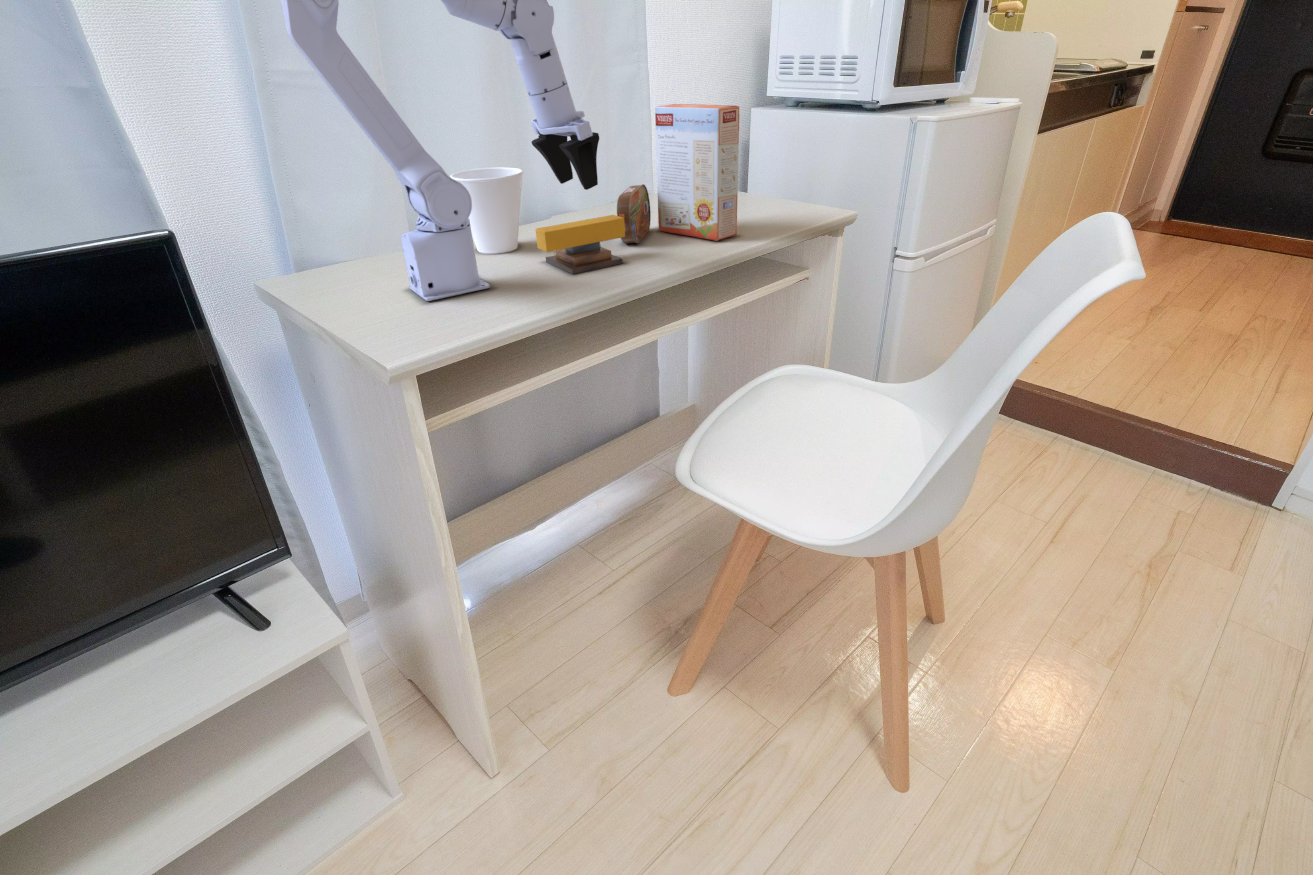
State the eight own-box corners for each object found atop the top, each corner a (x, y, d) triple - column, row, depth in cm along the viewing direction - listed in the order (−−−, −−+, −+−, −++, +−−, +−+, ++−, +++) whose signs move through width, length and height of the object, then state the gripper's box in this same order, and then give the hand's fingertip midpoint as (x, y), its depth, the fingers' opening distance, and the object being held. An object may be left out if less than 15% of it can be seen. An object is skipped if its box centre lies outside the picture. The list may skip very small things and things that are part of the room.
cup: (483, 238, 127) (472, 166, 121) (543, 241, 124) (534, 167, 118) (449, 256, 117) (435, 178, 111) (513, 259, 114) (502, 179, 108)
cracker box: (738, 235, 122) (741, 104, 112) (716, 242, 119) (718, 107, 108) (679, 225, 131) (677, 102, 121) (657, 231, 127) (653, 105, 117)
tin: (634, 249, 117) (631, 197, 113) (616, 248, 118) (613, 197, 113) (652, 228, 130) (650, 180, 126) (636, 227, 130) (634, 180, 126)
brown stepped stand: (572, 274, 105) (570, 253, 104) (545, 262, 112) (543, 242, 110) (622, 263, 110) (621, 243, 108) (594, 252, 116) (592, 232, 114)
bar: (546, 252, 105) (544, 232, 103) (537, 248, 107) (535, 228, 105) (625, 237, 111) (624, 217, 110) (614, 233, 114) (613, 214, 112)
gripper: (597, 79, 93) (625, 178, 101) (548, 78, 104) (577, 168, 112) (553, 97, 91) (585, 198, 99) (507, 95, 101) (540, 186, 109)
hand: (578, 184), depth 105 cm, fingers open, 7 cm apart
